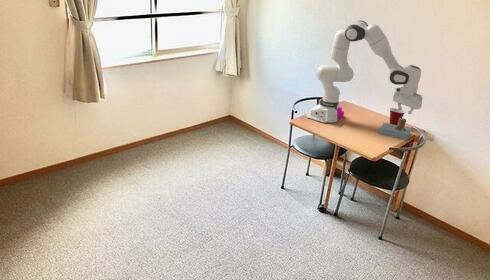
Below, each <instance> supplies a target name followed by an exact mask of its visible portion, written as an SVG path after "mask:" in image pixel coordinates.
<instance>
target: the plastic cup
mask: <svg viewBox="0 0 490 280" xmlns="http://www.w3.org/2000/svg"><path fill="white" fill-rule="evenodd" d="M405 114H406V111H405V110H403V109H402V110H398V108H396V107H395V108H394V107H390V108H389V124H393V125H398V121H399V118H403V117H404V116H405Z"/></svg>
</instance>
